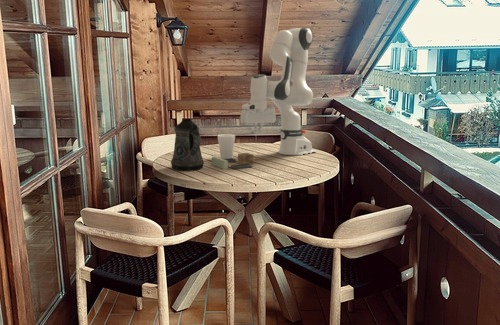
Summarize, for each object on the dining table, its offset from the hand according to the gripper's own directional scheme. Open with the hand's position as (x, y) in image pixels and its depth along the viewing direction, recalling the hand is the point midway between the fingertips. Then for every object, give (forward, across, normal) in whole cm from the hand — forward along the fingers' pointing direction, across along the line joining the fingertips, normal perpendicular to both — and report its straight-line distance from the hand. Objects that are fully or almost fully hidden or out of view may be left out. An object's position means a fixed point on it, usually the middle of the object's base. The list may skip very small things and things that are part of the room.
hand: (258, 131), depth 267 cm
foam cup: (+17, +10, -17) cm, 26 cm away
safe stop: (+17, +23, 0) cm, 28 cm away
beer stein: (+17, +38, -4) cm, 42 cm away
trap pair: (+17, +15, 0) cm, 22 cm away
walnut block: (+17, +7, 0) cm, 18 cm away
